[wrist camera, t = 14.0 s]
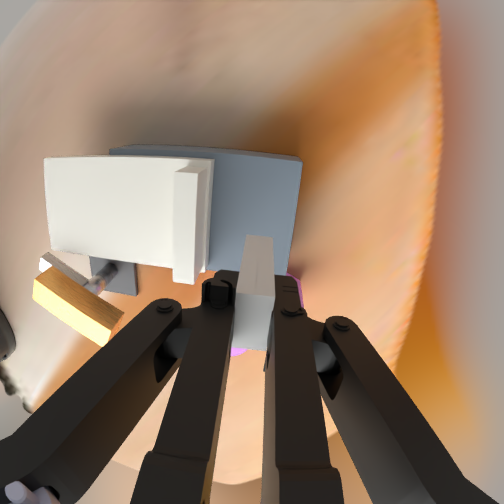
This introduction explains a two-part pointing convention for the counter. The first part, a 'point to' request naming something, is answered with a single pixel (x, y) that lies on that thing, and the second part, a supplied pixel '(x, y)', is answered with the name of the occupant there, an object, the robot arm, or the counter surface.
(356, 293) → the counter surface
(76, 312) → the key
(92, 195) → the cover
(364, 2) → the counter surface
